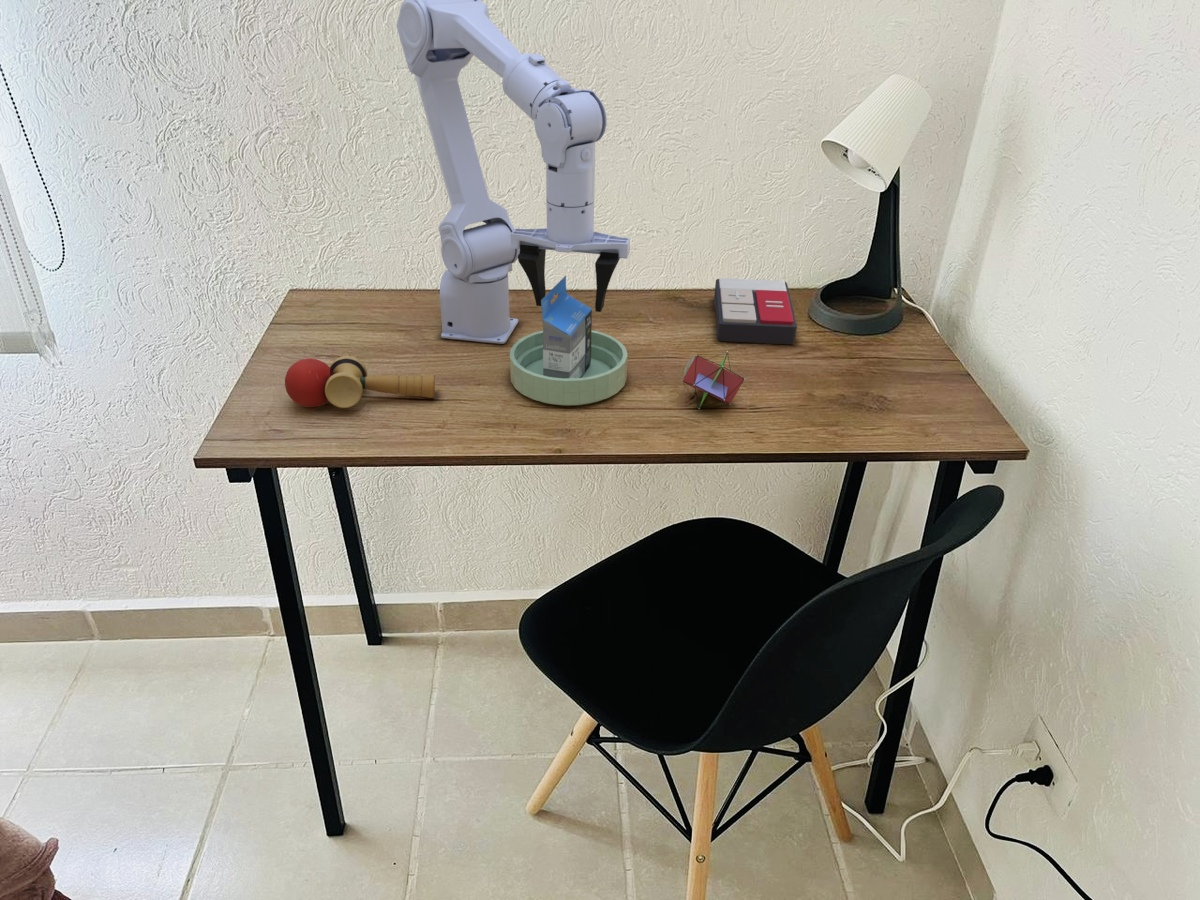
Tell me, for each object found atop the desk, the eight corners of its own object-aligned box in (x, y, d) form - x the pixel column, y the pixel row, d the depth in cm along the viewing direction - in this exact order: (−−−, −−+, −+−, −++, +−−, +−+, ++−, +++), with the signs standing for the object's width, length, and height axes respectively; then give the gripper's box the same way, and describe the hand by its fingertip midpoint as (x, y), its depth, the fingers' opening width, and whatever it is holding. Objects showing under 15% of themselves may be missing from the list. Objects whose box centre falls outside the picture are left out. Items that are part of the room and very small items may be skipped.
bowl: (497, 401, 115) (495, 373, 113) (527, 349, 128) (526, 323, 126) (615, 414, 113) (616, 386, 111) (634, 360, 126) (635, 333, 124)
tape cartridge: (570, 395, 116) (570, 305, 109) (541, 390, 117) (539, 300, 110) (592, 365, 123) (593, 278, 117) (565, 360, 124) (564, 274, 118)
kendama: (432, 388, 121) (289, 380, 117) (435, 349, 117) (287, 339, 112) (433, 426, 115) (282, 419, 111) (436, 387, 111) (280, 378, 107)
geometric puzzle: (757, 380, 117) (724, 330, 114) (751, 406, 111) (716, 353, 109) (710, 404, 120) (677, 355, 118) (702, 429, 115) (667, 379, 112)
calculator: (720, 318, 129) (716, 273, 141) (717, 345, 132) (713, 299, 144) (798, 322, 129) (787, 276, 141) (794, 348, 131) (783, 302, 143)
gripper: (502, 205, 107) (506, 312, 114) (624, 215, 104) (620, 324, 112) (518, 188, 112) (521, 291, 120) (634, 197, 110) (630, 301, 118)
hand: (570, 305), depth 116 cm, fingers open, 7 cm apart
